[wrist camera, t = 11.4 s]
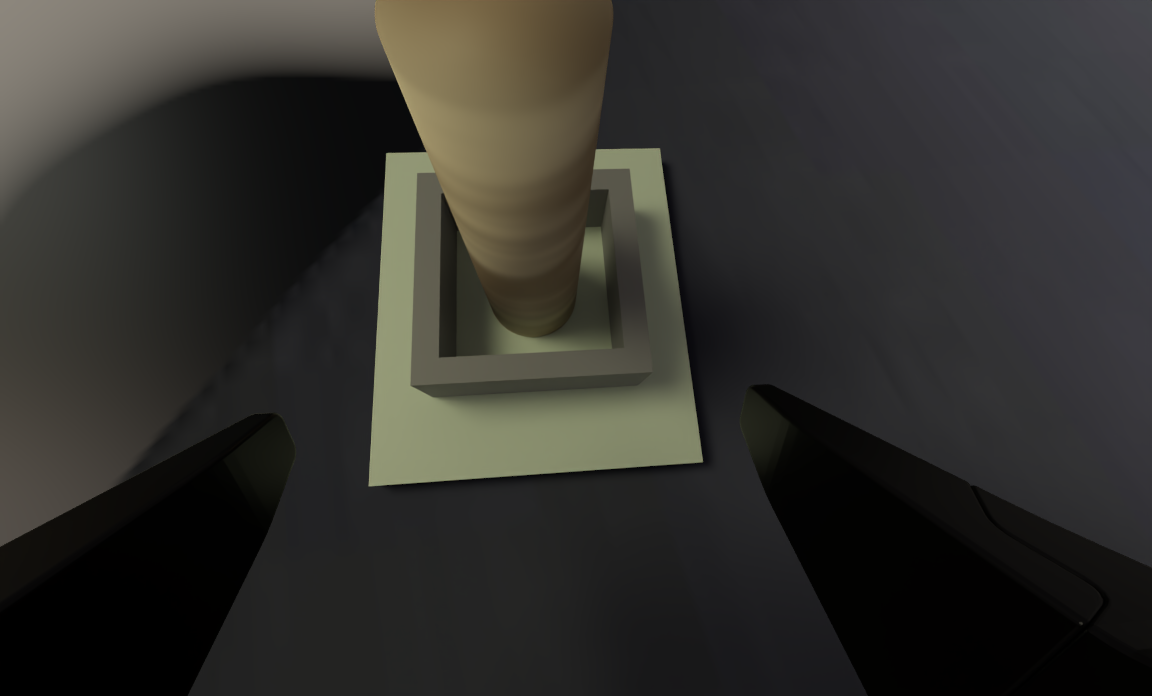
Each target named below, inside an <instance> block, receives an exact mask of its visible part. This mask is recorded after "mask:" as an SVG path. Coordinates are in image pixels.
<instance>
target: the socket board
mask: <svg viewBox="0 0 1152 696" xmlns="http://www.w3.org/2000/svg"><path fill="white" fill-rule="evenodd" d="M699 462H703V458H702V451H701V444H700V437H699V429H698V422H697V415H696V408H695V400H694V393H693V386H692V379H691V372H690V364H689V357H688V350H687V343H686V335H685V328H684V321H683V314H682V306H681V299H680V292H679V285H678V277H677V270H676V263H675V256H674V248H673V241H672V234H671V227H670V220H669V212H668V205H667V198H666V191H665V183H664V176H663V169H662V162H661V154H660V148H655V149H598V150H596V153H595V160H594V168H593V175H592V183H591V190H590V198H589V205H588V212H587V220H586V227H585V235H584V242H583V250H582V257H581V265H580V272H579V280H578V287H577V295H576V302H575V307H574V310H573V312H572V315H571V316H570V318H569V319H568V321H567V322H566V323H565V324H564V325H563V326H562V327H561V328H559V329H558V330H556V331H555V332H553V333H551V334H548V335H545V336H540V337H525V336H521V335H517V334H515V333H513V332H511V331H509V330H507V329H506V328H505V327H504V326H502V324H501V323H500V322H499V321H498V320H497V318H496V317H495V315H494V313H493V311H492V308H491V306H490V304H489V301H488V299H487V296H486V294H485V292H484V289H483V287H482V284H481V282H480V279H479V277H478V275H477V272H476V270H475V267H474V265H473V263H472V260H471V258H470V255H469V253H468V250H467V248H466V246H465V243H464V241H463V238H462V236H461V234H460V231H459V229H458V226H457V224H456V221H455V219H454V217H453V214H452V212H451V209H450V207H449V205H448V202H447V200H446V197H445V195H444V192H443V190H442V188H441V185H440V183H439V180H438V178H437V176H436V173H435V171H434V168H433V166H432V163H431V161H430V159H429V156H428V154H427V152H426V153H387V154H386V173H385V192H384V211H383V229H382V248H381V267H380V285H379V304H378V323H377V342H376V360H375V379H374V398H373V416H372V435H371V454H370V472H369V486H380V485H394V484H407V483H421V482H435V481H449V480H463V479H477V478H491V477H505V476H519V475H532V474H546V473H560V472H574V471H588V470H602V469H616V468H630V467H644V466H657V465H671V464H685V463H699Z"/></svg>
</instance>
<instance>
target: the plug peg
mask: <svg viewBox="0 0 1152 696" xmlns="http://www.w3.org/2000/svg"><path fill="white" fill-rule="evenodd" d="M375 22H376V27H377V32H378V34H379V37H380V40H381V43H382V45H383V47H384V50H385V52H386V55H387V57H388V60H389V62H390V64H391V67H392V69H393V72H394V74H395V77H396V79H397V81H398V84H399V86H400V88H401V91H402V93H403V95H404V98H405V101H406V103H407V106H408V108H409V110H410V113H411V115H412V118H413V120H414V122H415V125H416V127H417V130H418V132H419V134H420V137H421V139H422V142H423V144H424V147H425V149H426V151H427V154H428V156H429V159H430V161H431V163H432V166H433V168H434V171H435V173H436V176H437V178H438V180H439V183H440V185H441V188H442V190H443V192H444V195H445V197H446V200H447V202H448V205H449V207H450V209H451V212H452V214H453V217H454V219H455V221H456V224H457V226H458V229H459V231H460V234H461V236H462V238H463V241H464V243H465V246H466V248H467V250H468V253H469V255H470V258H471V260H472V263H473V265H474V267H475V270H476V272H477V275H478V277H479V279H480V282H481V284H482V287H483V289H484V292H485V294H486V296H487V299H488V301H489V304H490V306H491V308H492V311H493V313H494V315H495V317H496V318H497V320H498V321H499V322H500V323H501V324H502V326H504V327H505V328H506V329H507V330H509V331H511V332H513V333H515V334H517V335H521V336H525V337H540V336H545V335H548V334H551V333H553V332H555V331H556V330H558V329H559V328H561V327H562V326H563V325H564V324H565V323H566V322H567V321H568V319H569V318H570V316H571V315H572V312H573V310H574V307H575V302H576V295H577V287H578V280H579V272H580V265H581V257H582V250H583V242H584V235H585V227H586V220H587V212H588V205H589V198H590V190H591V183H592V175H593V168H594V160H595V153H596V145H597V138H598V130H599V123H600V115H601V108H602V100H603V93H604V85H605V78H606V70H607V63H608V55H609V48H610V40H611V33H612V25H613V7H612V1H611V0H376V4H375Z"/></svg>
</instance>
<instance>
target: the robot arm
mask: <svg viewBox="0 0 1152 696" xmlns="http://www.w3.org/2000/svg"><path fill="white" fill-rule="evenodd" d="M740 426H741V430H742V433H743V435H744V438H745V441H746V443H747V446H748V449H749V451H750V454H751V457H752V459H753V462H754V464H755V467H756V470H757V472H758V475H759V478H760V480H761V483H762V486H763V488H764V490H765V493H766V495H767V497H768V499H769V502H770V504H771V506H772V508H773V510H774V512H775V514H776V516H777V518H778V520H779V522H780V523H781V525H782V527H783V529H784V531H785V533H786V535H787V537H788V539H789V541H790V543H791V545H792V547H793V549H794V551H795V553H796V555H797V557H798V559H799V561H800V563H801V565H802V567H803V569H804V571H805V573H806V575H807V577H808V579H809V581H810V582H811V584H812V586H813V588H814V590H815V592H816V594H817V596H818V598H819V600H820V602H821V604H822V606H823V608H824V610H825V612H826V614H827V616H828V618H829V620H830V622H831V624H832V626H833V628H834V630H835V632H836V634H837V636H838V638H839V640H840V641H841V643H842V645H843V647H844V649H845V651H846V653H847V655H848V657H849V659H850V661H851V663H852V665H853V667H854V669H855V671H856V673H857V675H858V677H859V679H860V681H861V683H862V685H863V687H864V689H865V691H866V693H867V695H868V696H1152V568H1151V567H1149V566H1146V565H1144V564H1142V563H1140V562H1137V561H1135V560H1133V559H1131V558H1129V557H1126V556H1124V555H1122V554H1120V553H1117V552H1115V551H1113V550H1111V549H1108V548H1106V547H1104V546H1102V545H1099V544H1097V543H1095V542H1093V541H1091V540H1088V539H1086V538H1084V537H1082V536H1080V535H1077V534H1075V533H1073V532H1071V531H1069V530H1066V529H1064V528H1062V527H1060V526H1058V525H1055V524H1053V523H1051V522H1049V521H1047V520H1045V519H1042V518H1040V517H1038V516H1036V515H1034V514H1032V513H1030V512H1028V511H1026V510H1024V509H1022V508H1020V507H1018V506H1015V505H1013V504H1011V503H1009V502H1007V501H1005V500H1003V499H1001V498H999V497H997V496H995V495H993V494H991V493H989V492H987V491H985V490H983V489H981V488H979V487H977V486H974V485H973V486H970V484H969V483H968V482H967V481H965V480H963V479H961V478H958V477H956V476H954V475H952V474H950V473H948V472H946V471H944V470H942V469H940V468H938V467H936V466H934V465H932V464H930V463H928V462H926V461H924V460H922V459H920V458H918V457H916V456H914V455H912V454H910V453H908V452H906V451H904V450H902V449H900V448H898V447H896V446H894V445H892V444H890V443H888V442H886V441H884V440H882V439H880V438H878V437H876V436H874V435H872V434H870V433H868V432H866V431H864V430H862V429H860V428H858V427H856V426H853V425H851V424H849V423H847V422H845V421H843V420H841V419H839V418H837V417H835V416H833V415H831V414H829V413H827V412H825V411H823V410H821V409H819V408H817V407H815V406H813V405H811V404H809V403H807V402H805V401H803V400H801V399H799V398H797V397H795V396H793V395H791V394H789V393H787V392H785V391H783V390H781V389H779V388H777V387H775V386H773V385H769V384H764V385H751V386H750V387H749V388H748V389H747V391H746V395H745V399H744V403H743V407H742V411H741V416H740ZM295 457H296V447H295V444H294V442H293V439H292V437H291V435H290V433H289V430H288V428H287V426H286V424H285V422H284V419H283V418H282V417H281V416H280V415H279V414H277V413H262V414H253V415H250V416H248V417H246V418H244V419H242V420H240V421H239V422H237V423H235V424H233V425H231V426H229V427H227V428H225V429H223V430H221V431H220V432H218V433H216V434H214V435H212V436H210V437H208V438H206V439H204V440H202V441H201V442H199V443H197V444H195V445H193V446H191V447H189V448H187V449H185V450H183V451H181V452H180V453H178V454H176V455H174V456H172V457H170V458H168V459H166V460H164V461H162V462H161V463H159V464H157V465H155V466H153V467H151V468H149V469H147V470H145V471H143V472H142V473H140V474H138V475H136V476H134V477H132V478H130V479H128V480H126V481H124V482H122V483H121V484H119V485H117V486H115V487H113V488H111V489H109V490H107V491H106V492H103V493H102V494H100V495H98V496H96V497H94V498H92V499H90V500H88V501H86V502H84V503H83V504H81V505H79V506H77V507H75V508H73V509H71V510H69V511H67V512H65V513H63V514H62V515H60V516H58V517H56V518H54V519H52V520H50V521H48V522H46V523H44V524H43V525H41V526H39V527H37V528H35V529H33V530H31V531H29V532H27V533H25V534H23V535H22V536H20V537H18V538H16V539H14V540H12V541H10V542H8V543H6V544H4V545H3V546H1V547H0V696H188V694H189V692H190V690H191V688H192V686H193V684H194V682H195V680H196V678H197V675H198V673H199V671H200V669H201V667H202V665H203V663H204V661H205V659H206V657H207V655H208V653H209V651H210V649H211V647H212V645H213V643H214V641H215V639H216V637H217V635H218V633H219V631H220V629H221V627H222V625H223V623H224V621H225V619H226V617H227V615H228V613H229V611H230V609H231V607H232V605H233V603H234V600H235V598H236V596H237V594H238V592H239V590H240V588H241V586H242V584H243V582H244V580H245V578H246V576H247V574H248V572H249V570H250V568H251V566H252V564H253V562H254V560H255V558H256V556H257V554H258V552H259V550H260V548H261V546H262V543H263V541H264V539H265V537H266V535H267V532H268V530H269V527H270V525H271V523H272V520H273V517H274V515H275V512H276V509H277V506H278V504H279V501H280V498H281V496H282V493H283V490H284V487H285V485H286V482H287V479H288V477H289V474H290V471H291V469H292V466H293V463H294V460H295Z"/></svg>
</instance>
